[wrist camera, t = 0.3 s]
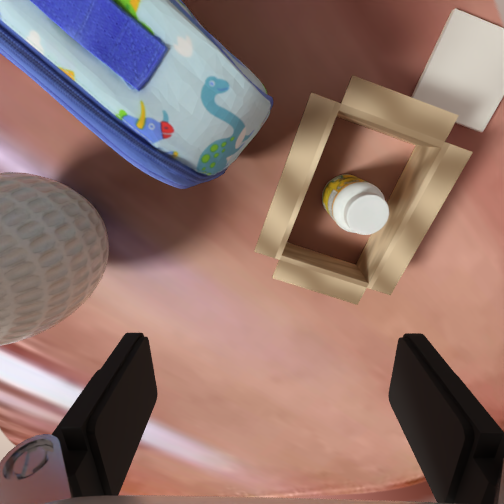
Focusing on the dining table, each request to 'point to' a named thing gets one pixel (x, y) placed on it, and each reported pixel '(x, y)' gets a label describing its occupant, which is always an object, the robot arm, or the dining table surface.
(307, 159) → the carton
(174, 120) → the lunch box
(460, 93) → the coaster
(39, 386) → the dining table surface
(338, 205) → the supplement bottle
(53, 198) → the vase
